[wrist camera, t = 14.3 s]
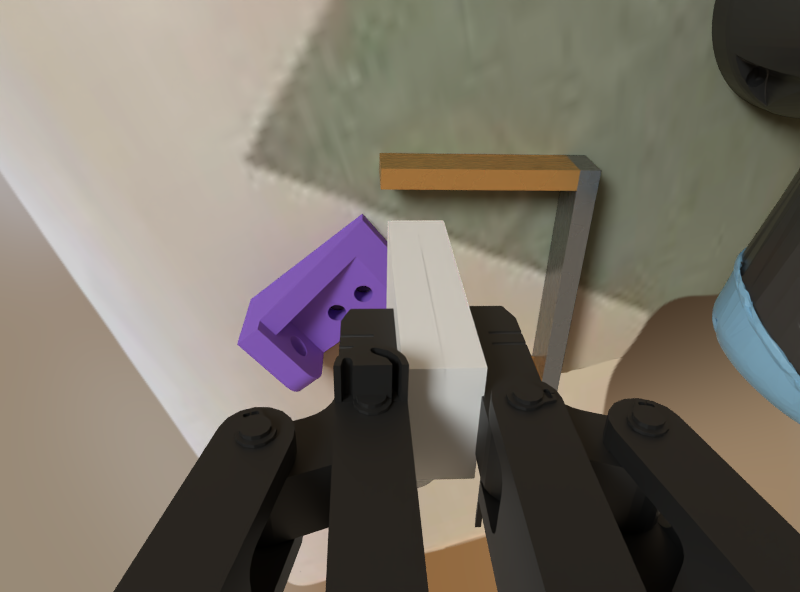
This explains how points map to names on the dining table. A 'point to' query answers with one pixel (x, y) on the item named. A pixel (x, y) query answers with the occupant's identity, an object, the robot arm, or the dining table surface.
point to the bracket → (315, 304)
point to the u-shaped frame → (569, 233)
